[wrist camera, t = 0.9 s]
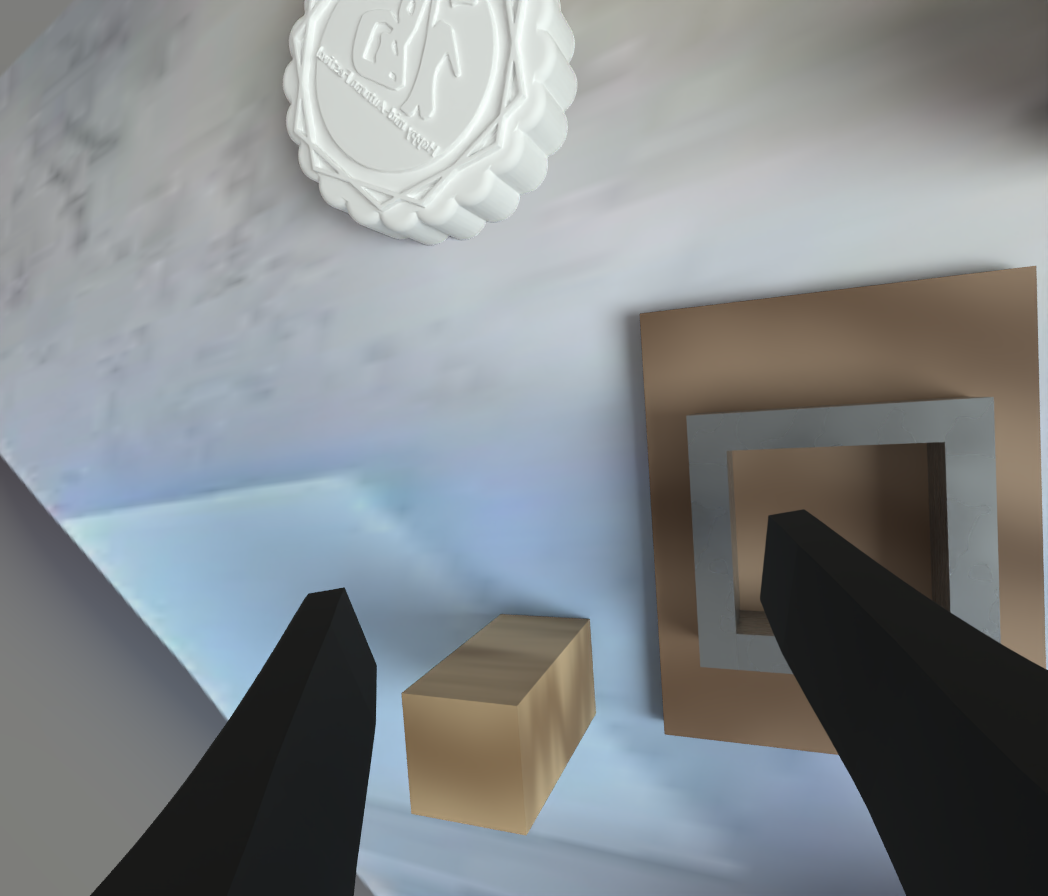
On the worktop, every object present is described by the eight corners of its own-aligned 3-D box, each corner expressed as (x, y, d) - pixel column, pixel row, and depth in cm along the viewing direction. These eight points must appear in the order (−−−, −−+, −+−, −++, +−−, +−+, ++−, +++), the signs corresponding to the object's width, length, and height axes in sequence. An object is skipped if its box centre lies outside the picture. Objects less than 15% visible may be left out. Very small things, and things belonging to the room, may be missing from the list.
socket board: (1037, 762, 21) (1083, 828, 18) (668, 721, 26) (652, 769, 23) (1024, 271, 20) (1071, 248, 17) (644, 316, 25) (624, 305, 22)
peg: (595, 713, 27) (526, 835, 20) (507, 703, 28) (411, 813, 21) (589, 619, 27) (516, 705, 19) (500, 613, 28) (401, 693, 21)
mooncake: (643, 48, 24) (622, -6, 21) (458, 304, 28) (415, 291, 25) (429, -108, 27) (380, -179, 24) (285, 144, 31) (224, 113, 27)
